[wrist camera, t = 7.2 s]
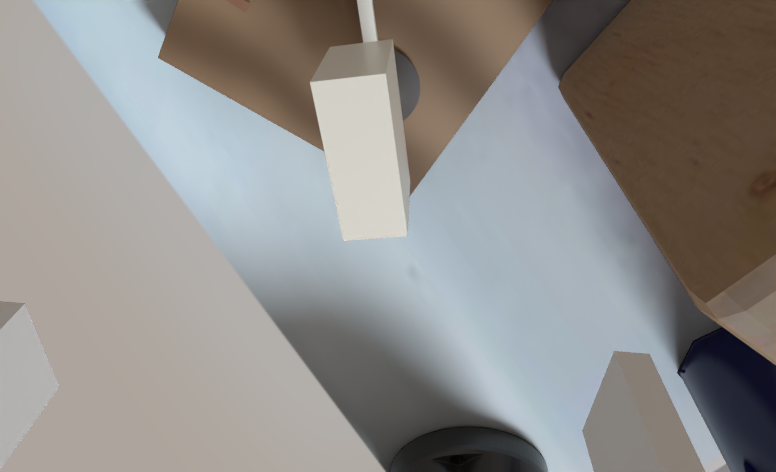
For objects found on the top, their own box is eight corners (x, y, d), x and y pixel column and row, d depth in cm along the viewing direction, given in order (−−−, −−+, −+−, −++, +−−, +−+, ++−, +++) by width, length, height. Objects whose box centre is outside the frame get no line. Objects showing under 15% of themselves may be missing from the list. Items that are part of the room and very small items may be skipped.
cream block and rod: (362, 154, 31) (343, 241, 23) (314, -128, 24) (264, -132, 16) (411, 149, 31) (407, 235, 23) (378, -139, 23) (356, -147, 16)
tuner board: (408, 180, 35) (407, 200, 33) (175, 46, 31) (155, 59, 29) (579, -58, 27) (593, -53, 25) (294, -278, 23) (280, -295, 21)
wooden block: (547, 82, 31) (688, 315, 14) (694, -81, 26) (1157, -13, 10) (663, 176, 34) (893, 461, 17) (815, 44, 29) (1334, 262, 13)
